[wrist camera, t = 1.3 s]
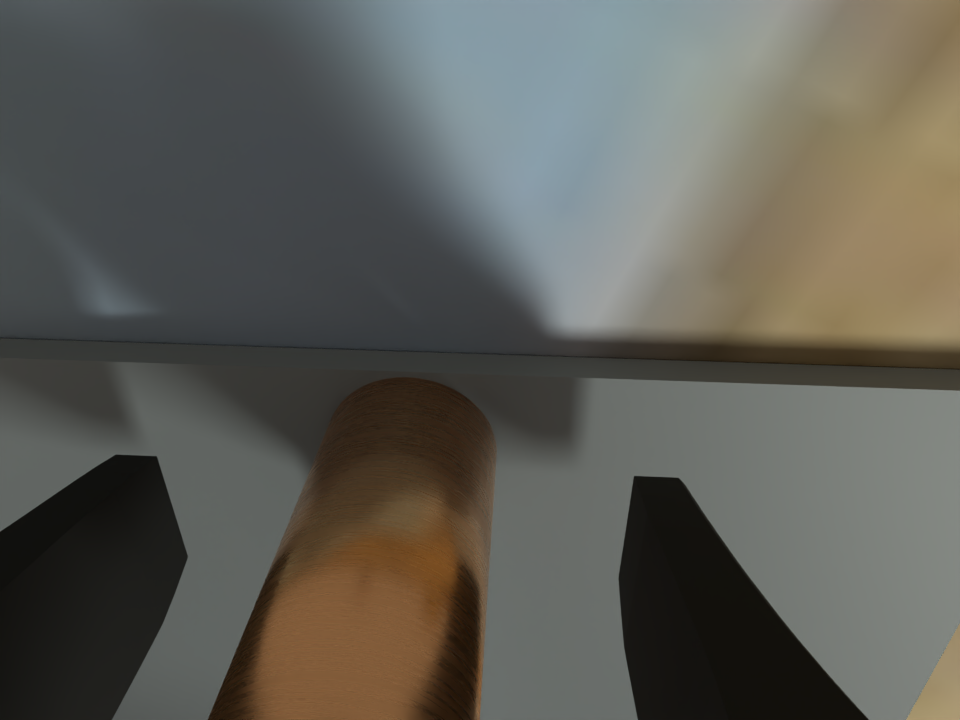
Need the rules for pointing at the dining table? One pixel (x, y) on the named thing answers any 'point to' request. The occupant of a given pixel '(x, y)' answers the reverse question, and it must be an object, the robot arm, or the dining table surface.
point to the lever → (378, 569)
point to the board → (532, 498)
